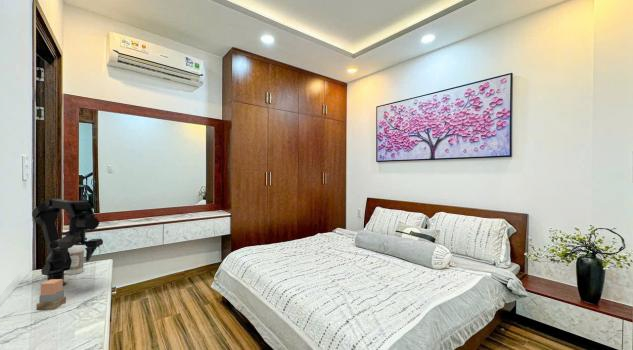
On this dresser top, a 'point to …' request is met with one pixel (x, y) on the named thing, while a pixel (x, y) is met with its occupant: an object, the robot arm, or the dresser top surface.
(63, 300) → the walnut base block
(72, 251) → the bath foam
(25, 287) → the dresser top surface
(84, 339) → the dresser top surface
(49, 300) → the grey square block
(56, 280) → the terracotta cube
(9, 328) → the dresser top surface
